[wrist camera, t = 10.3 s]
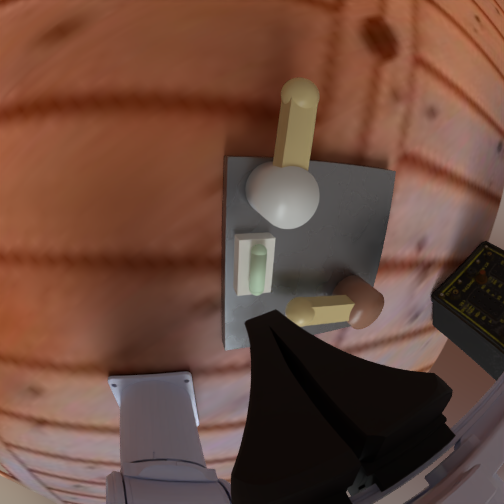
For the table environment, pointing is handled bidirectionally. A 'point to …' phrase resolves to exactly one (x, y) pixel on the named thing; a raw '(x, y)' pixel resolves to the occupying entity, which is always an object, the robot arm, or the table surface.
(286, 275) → the levelling plate
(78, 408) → the table surface
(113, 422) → the table surface
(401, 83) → the table surface
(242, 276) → the bubble vial
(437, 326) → the voltmeter
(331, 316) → the beige knobbed bar
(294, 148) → the footscrew grey
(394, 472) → the robot arm
